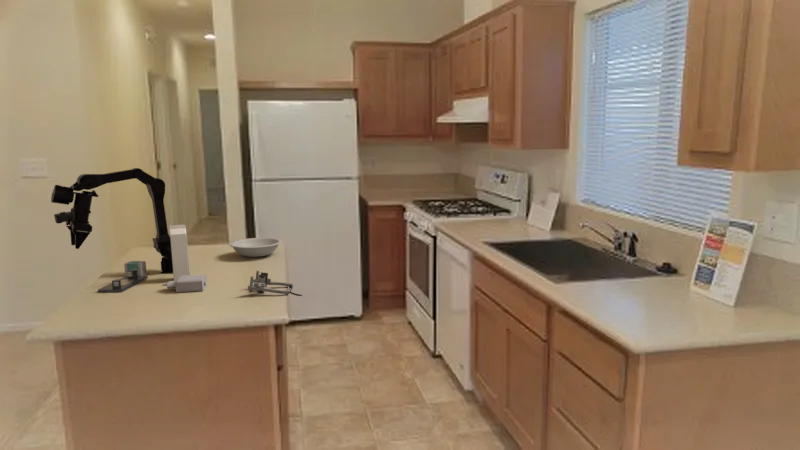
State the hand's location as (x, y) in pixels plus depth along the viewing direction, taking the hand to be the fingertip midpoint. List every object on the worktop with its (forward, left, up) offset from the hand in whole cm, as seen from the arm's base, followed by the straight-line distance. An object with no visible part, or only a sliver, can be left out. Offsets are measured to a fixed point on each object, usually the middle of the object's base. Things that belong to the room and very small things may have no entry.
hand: (74, 246), depth 220 cm
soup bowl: (-54, -52, -16) cm, 77 cm away
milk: (-36, -9, -16) cm, 41 cm away
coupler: (-14, -17, -15) cm, 27 cm away
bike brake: (-80, +9, -16) cm, 82 cm away
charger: (-44, +6, -16) cm, 47 cm away
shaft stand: (-17, -1, -15) cm, 23 cm away
